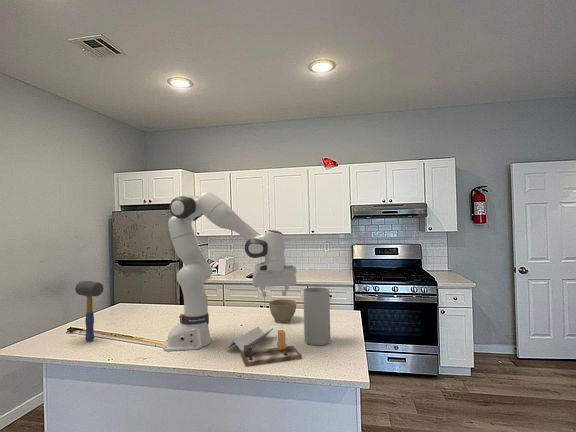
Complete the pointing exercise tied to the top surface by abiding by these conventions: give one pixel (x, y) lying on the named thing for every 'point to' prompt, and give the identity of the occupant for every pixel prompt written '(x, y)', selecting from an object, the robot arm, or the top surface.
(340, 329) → the top surface
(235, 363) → the top surface
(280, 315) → the planter bowl
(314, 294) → the cylinder vase
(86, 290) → the rubber mallet
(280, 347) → the sliding jaw
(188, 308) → the robot arm
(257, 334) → the z bracket
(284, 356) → the gauge board
